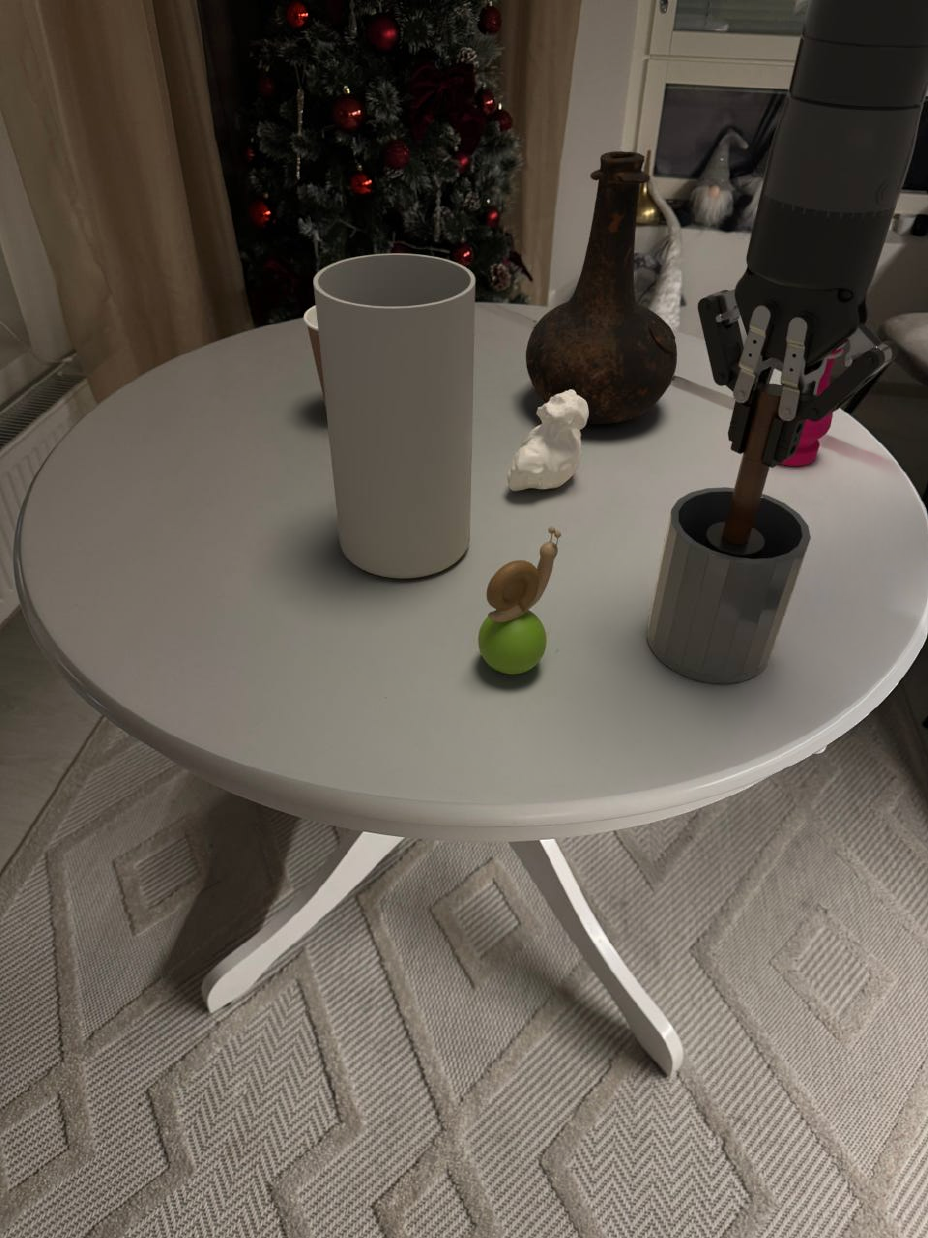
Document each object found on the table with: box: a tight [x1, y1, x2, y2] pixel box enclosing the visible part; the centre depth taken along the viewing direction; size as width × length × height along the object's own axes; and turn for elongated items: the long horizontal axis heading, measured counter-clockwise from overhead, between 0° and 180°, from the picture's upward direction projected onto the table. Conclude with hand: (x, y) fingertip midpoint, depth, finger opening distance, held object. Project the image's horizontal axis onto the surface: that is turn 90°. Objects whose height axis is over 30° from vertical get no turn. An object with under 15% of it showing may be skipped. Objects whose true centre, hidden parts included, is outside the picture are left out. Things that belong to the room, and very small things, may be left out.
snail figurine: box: [477, 526, 562, 675], centre depth 65 cm, size 5×6×12 cm
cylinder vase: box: [313, 253, 476, 579], centre depth 73 cm, size 12×12×25 cm
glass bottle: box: [525, 150, 678, 425], centre depth 95 cm, size 18×18×28 cm
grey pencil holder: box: [646, 486, 812, 685], centre depth 67 cm, size 10×10×12 cm
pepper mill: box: [779, 341, 847, 467], centre depth 90 cm, size 7×7×20 cm
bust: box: [506, 389, 589, 492], centre depth 88 cm, size 12×8×11 cm
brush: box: [703, 383, 783, 559], centre depth 62 cm, size 4×4×16 cm
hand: (757, 454), depth 60 cm, fingers closed on brush, 2 cm apart
